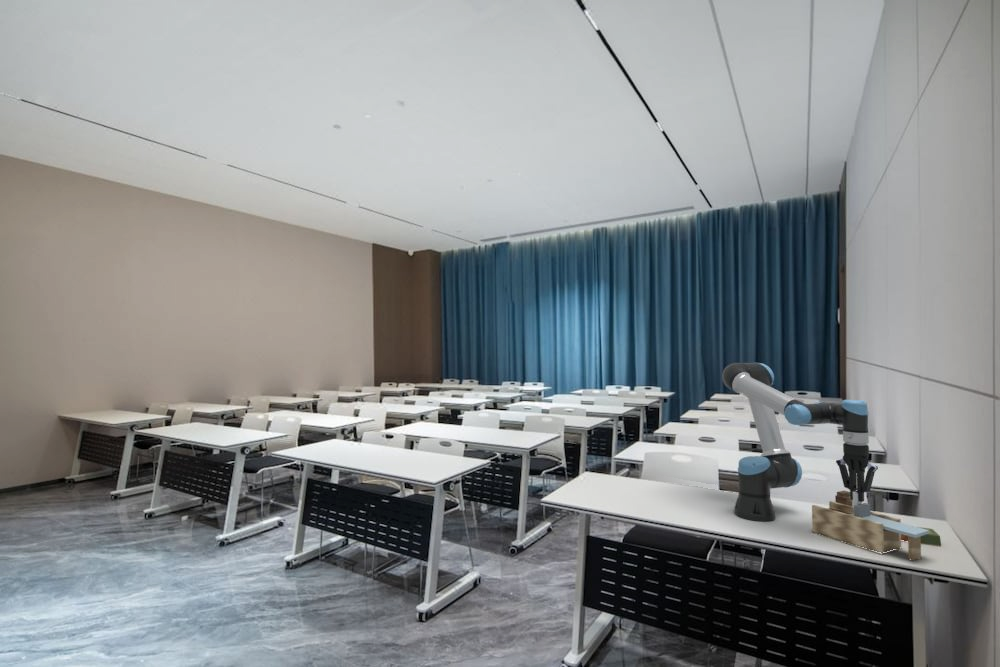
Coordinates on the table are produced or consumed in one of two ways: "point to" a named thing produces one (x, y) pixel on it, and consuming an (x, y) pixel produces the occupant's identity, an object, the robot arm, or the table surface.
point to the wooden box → (859, 529)
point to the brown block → (844, 498)
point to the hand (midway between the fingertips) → (857, 509)
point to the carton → (927, 538)
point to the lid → (888, 522)
